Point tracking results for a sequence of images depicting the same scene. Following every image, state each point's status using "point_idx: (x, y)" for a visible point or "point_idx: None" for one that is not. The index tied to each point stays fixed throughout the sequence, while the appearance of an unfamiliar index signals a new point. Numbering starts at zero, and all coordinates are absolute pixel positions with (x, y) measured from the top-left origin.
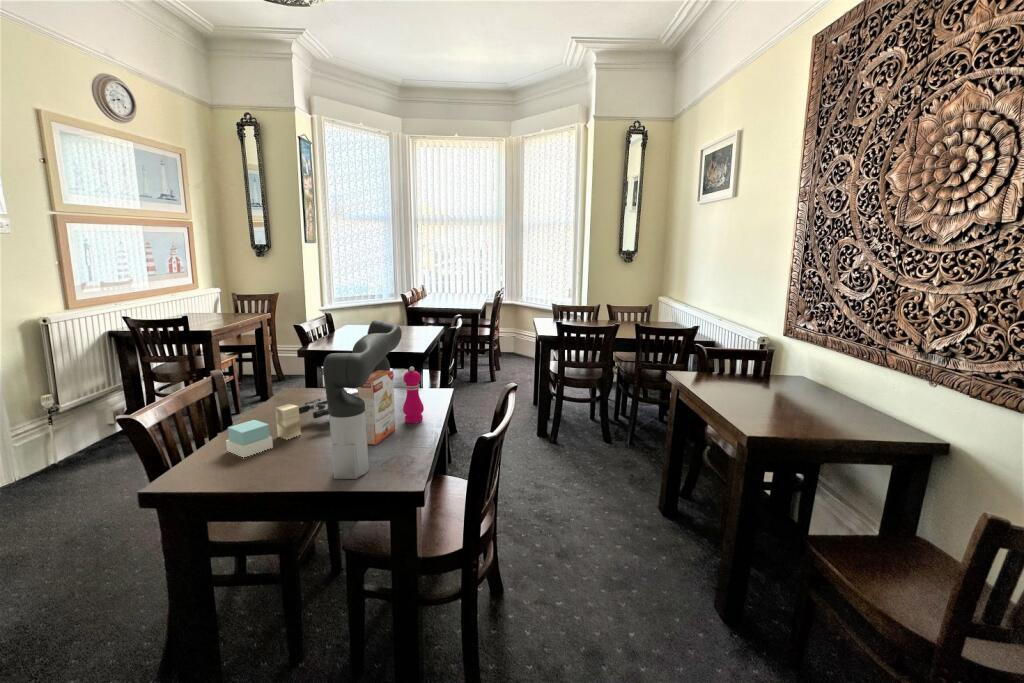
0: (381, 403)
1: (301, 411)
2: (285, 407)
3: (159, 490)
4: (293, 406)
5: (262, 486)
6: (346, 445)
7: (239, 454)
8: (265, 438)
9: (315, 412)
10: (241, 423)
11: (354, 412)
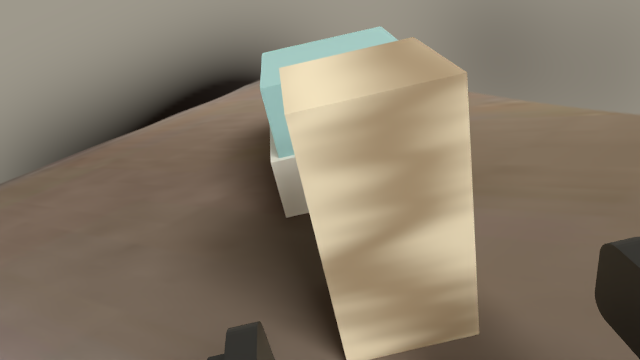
0: None
1: (629, 318)
2: (355, 66)
3: None
4: (323, 93)
5: (46, 174)
6: None
7: None
8: (275, 147)
9: (229, 343)
10: (392, 38)
11: None
